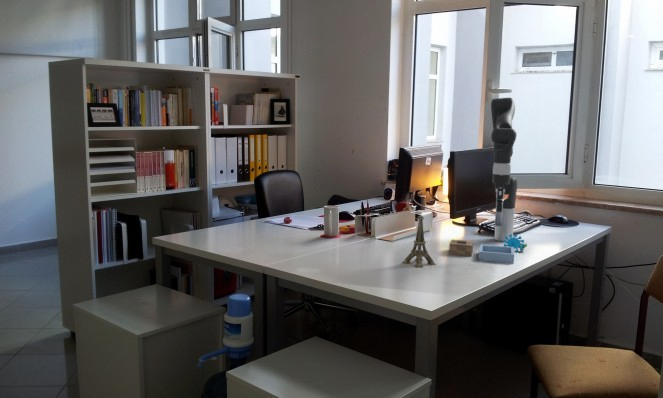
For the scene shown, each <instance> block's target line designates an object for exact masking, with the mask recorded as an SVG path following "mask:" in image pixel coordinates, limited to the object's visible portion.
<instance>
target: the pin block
mask: <svg viewBox="0 0 663 398" xmlns="http://www.w3.org/2000/svg"><path fill="white" fill-rule="evenodd" d="M473 250H474V241H473V240H463V239H462V240H461V239H451V241H450V243H449V253H448V255H453V256H465V257H472V255H473V252H474V251H473Z"/></svg>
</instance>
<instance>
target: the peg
mask: <svg viewBox="0 0 663 398" xmlns="http://www.w3.org/2000/svg"><path fill="white" fill-rule="evenodd" d="M498 200H502V199H498ZM496 202H497V198H496V200H495V212H494V213H495V215H494V216H495V217H494V227H495V226H502V212H503V203H502V212H497V203H496Z"/></svg>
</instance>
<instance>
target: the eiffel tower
mask: <svg viewBox="0 0 663 398" xmlns="http://www.w3.org/2000/svg"><path fill="white" fill-rule="evenodd" d="M417 220H418V224H417V228H416V235H415V240H413V243H414V245H413V247H412V250H410V253H409V254H408V255H407V256H406V258H405V259H404V260H403V261H402V262H401V263H402V264H405V265H407V264H412V263H411V260H412V259H413V258H414V257H416V258H415V259H414V261H416V262H415V265H414V268H418V269H420V268H424V265H423V263H422V262H424V260H423V258H425V260H426V262H427V263H426V264H427V265H428V266H436V265H437V263H435V262H434V260H433V258H432V257H431V255H430V254H429V251H428V250H427V248H426V244H427V241H425V235H424V233H425V232H424V221H423V220H425V218H424V216H422V214H420V215H418V216H417ZM422 257H423V258H422Z"/></svg>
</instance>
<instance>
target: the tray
mask: <svg viewBox="0 0 663 398" xmlns="http://www.w3.org/2000/svg"><path fill="white" fill-rule="evenodd" d="M478 261H484V262H492V263H493V262H495V263H496V262H497V263H506V264H514V262H515V249H514V247H509V246H504V245H503V246H502V245H489V244H480V245H479V251H478Z"/></svg>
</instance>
